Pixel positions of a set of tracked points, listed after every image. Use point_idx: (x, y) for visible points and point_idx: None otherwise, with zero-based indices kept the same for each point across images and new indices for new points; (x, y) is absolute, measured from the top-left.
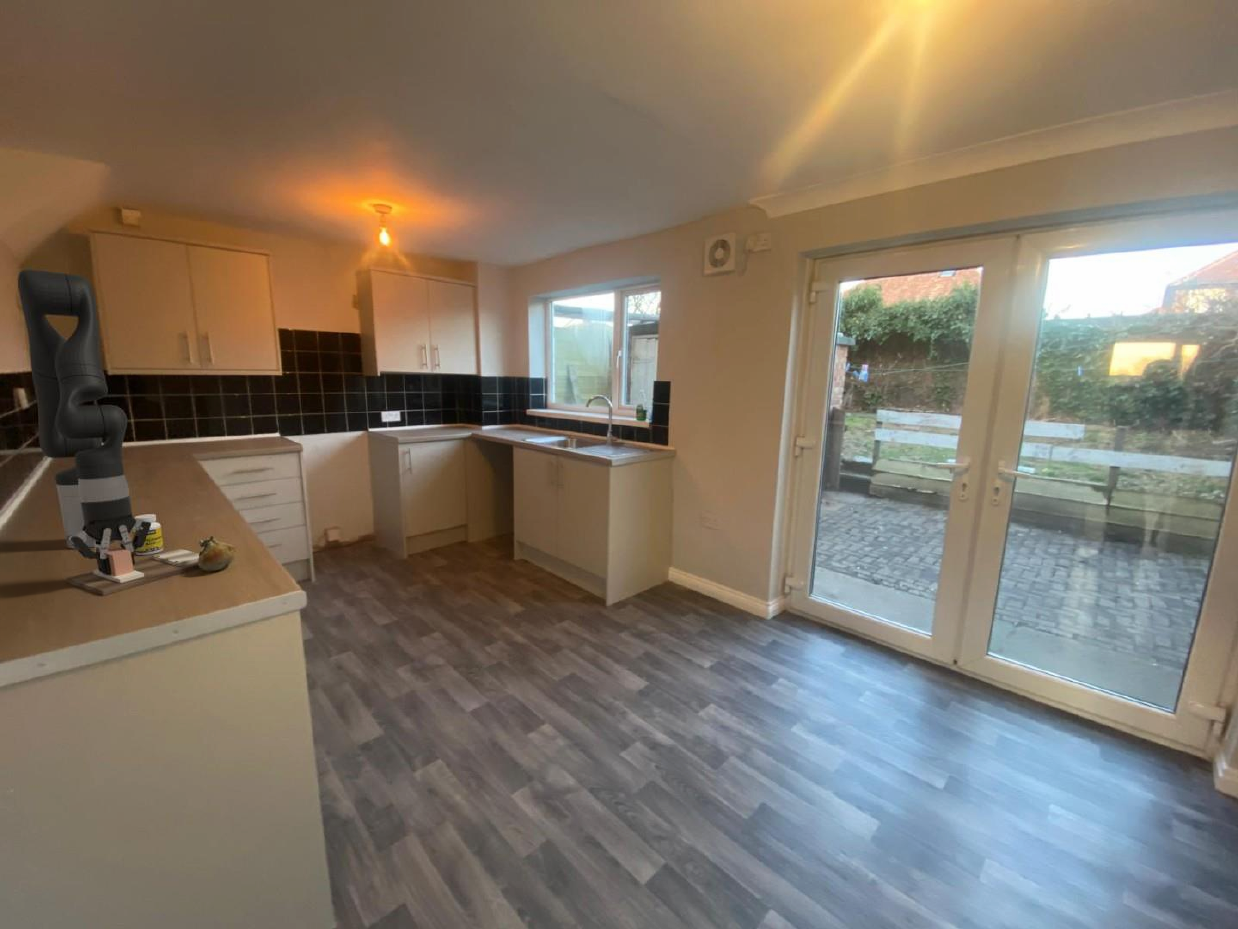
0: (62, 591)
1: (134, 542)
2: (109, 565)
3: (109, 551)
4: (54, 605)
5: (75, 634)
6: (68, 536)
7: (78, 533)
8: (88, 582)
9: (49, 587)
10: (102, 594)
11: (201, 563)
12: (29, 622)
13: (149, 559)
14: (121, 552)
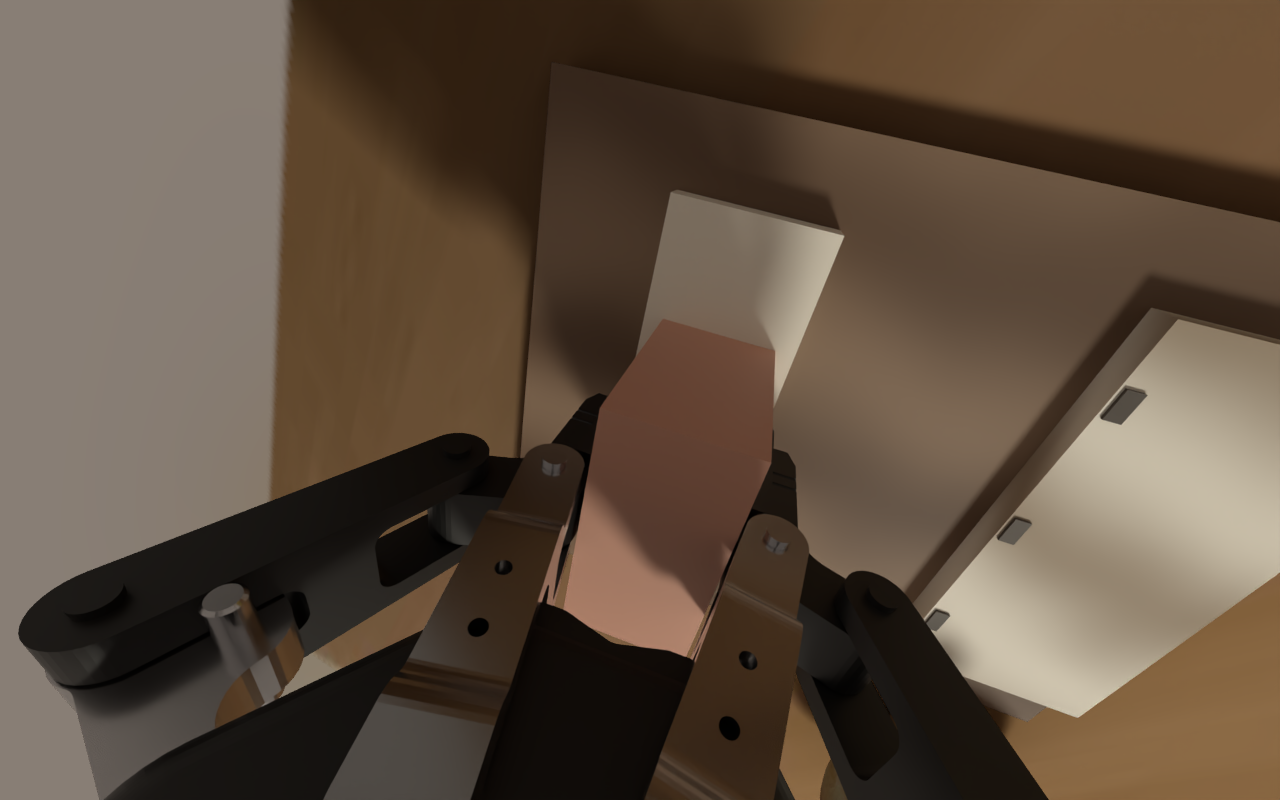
0: (474, 251)
1: (838, 652)
2: None
3: (618, 527)
4: (392, 415)
5: (366, 646)
6: (27, 638)
7: (99, 758)
8: (553, 351)
9: (469, 46)
10: None
11: (825, 791)
12: (310, 479)
13: (1128, 294)
14: (628, 633)
